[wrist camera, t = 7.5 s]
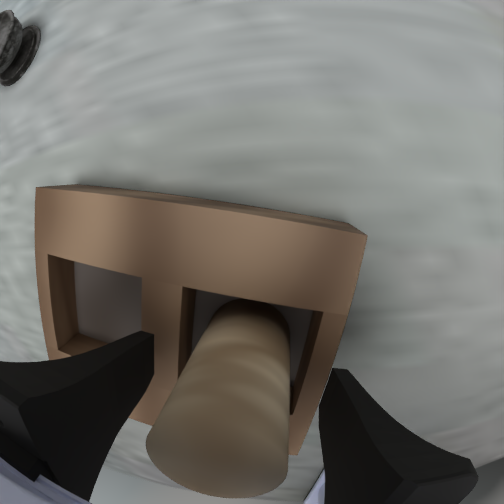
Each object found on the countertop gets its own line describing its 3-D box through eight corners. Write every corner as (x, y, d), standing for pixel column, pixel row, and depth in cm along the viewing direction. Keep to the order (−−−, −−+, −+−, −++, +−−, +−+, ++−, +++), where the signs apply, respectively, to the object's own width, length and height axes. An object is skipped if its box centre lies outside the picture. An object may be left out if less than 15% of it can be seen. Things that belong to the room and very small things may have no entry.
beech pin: (298, 307, 14) (306, 437, 6) (279, 375, 15) (269, 505, 7) (214, 289, 14) (143, 399, 6) (204, 358, 15) (149, 477, 7)
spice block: (348, 223, 14) (367, 235, 10) (296, 414, 17) (297, 455, 13) (76, 184, 15) (35, 187, 11) (82, 359, 18) (55, 385, 14)
